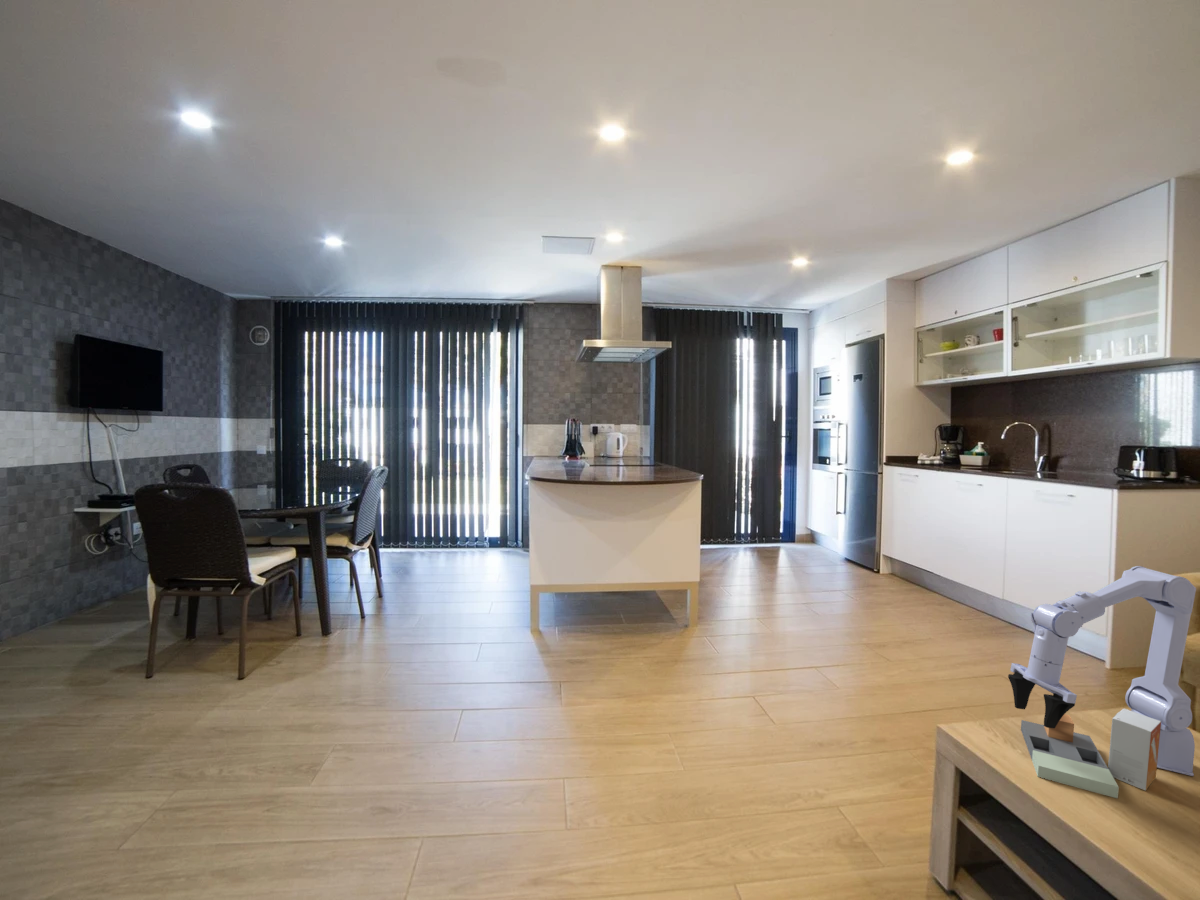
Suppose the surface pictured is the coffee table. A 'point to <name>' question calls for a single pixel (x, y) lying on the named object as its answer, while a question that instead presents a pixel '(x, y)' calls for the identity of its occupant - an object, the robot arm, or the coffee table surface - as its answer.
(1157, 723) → the small box
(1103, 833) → the coffee table surface
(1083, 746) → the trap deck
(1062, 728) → the orange block
